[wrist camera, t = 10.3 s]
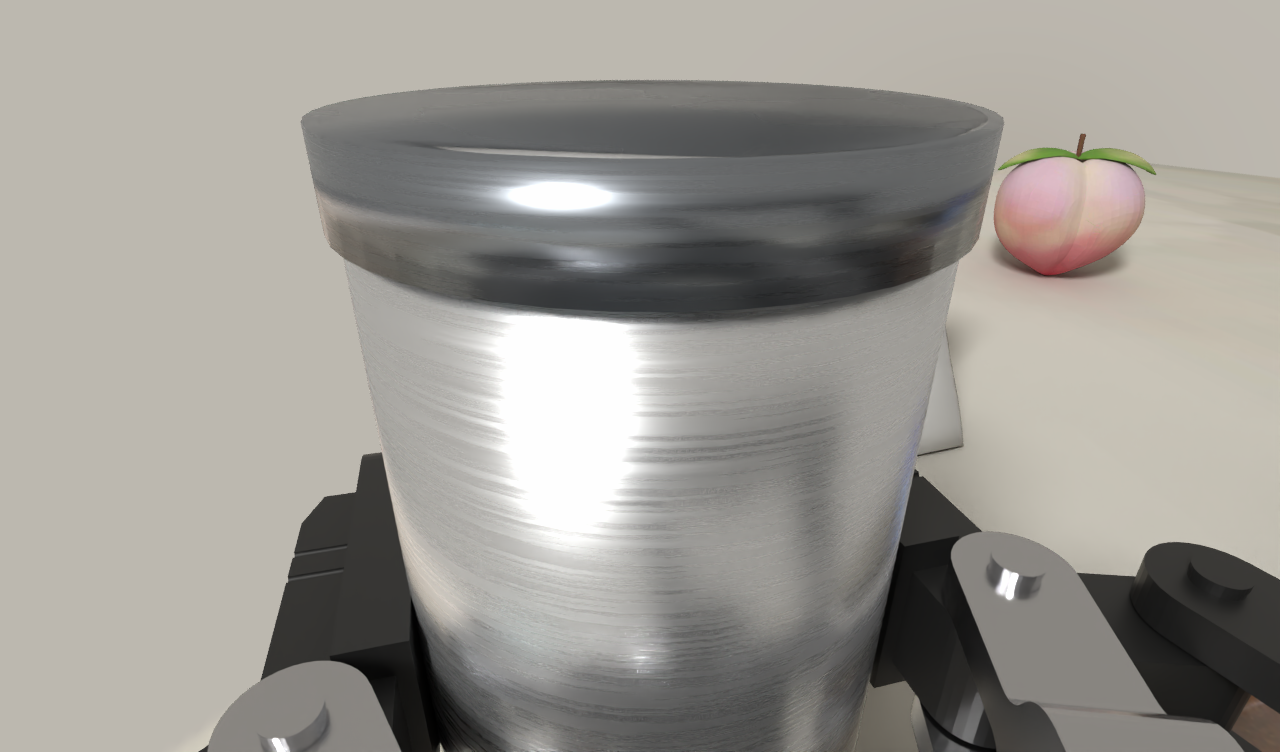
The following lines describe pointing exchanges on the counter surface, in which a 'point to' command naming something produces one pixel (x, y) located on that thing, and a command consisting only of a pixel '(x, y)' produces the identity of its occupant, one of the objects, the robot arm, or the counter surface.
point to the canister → (650, 390)
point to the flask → (942, 408)
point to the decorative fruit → (1069, 206)
